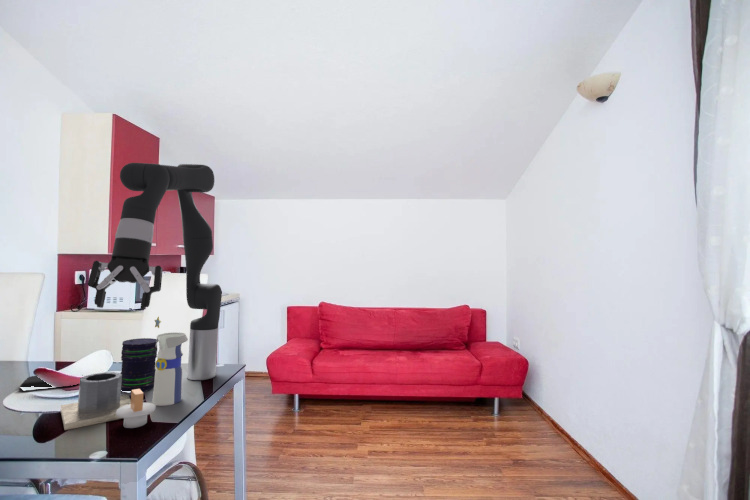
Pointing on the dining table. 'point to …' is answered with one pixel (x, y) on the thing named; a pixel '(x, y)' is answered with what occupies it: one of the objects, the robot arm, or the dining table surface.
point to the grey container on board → (95, 401)
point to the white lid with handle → (135, 410)
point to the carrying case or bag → (34, 382)
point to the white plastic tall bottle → (168, 368)
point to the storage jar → (138, 364)
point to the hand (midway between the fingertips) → (121, 308)
